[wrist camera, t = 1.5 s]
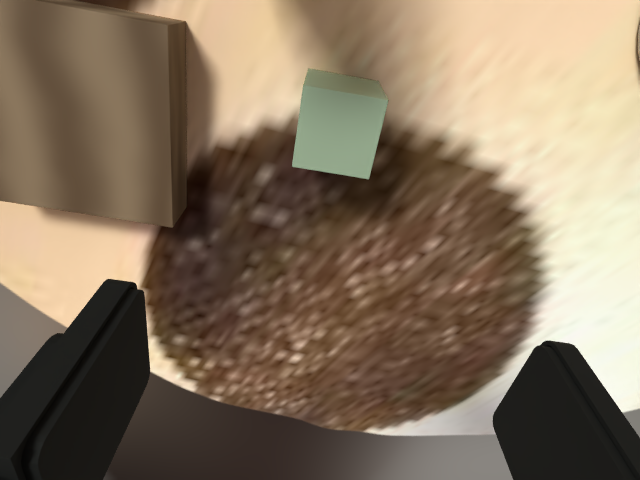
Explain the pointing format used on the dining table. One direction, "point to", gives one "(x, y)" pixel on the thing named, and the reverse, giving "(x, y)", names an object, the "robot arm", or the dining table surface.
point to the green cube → (339, 124)
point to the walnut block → (93, 110)
